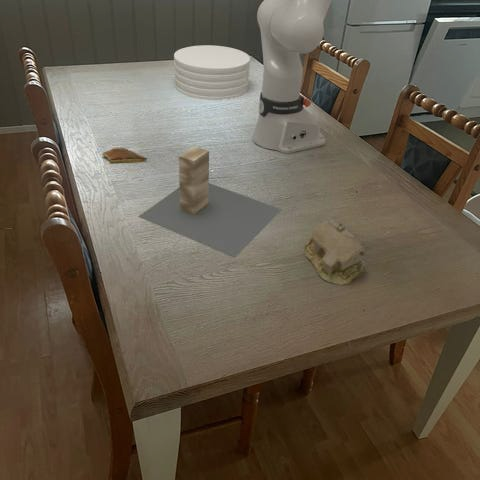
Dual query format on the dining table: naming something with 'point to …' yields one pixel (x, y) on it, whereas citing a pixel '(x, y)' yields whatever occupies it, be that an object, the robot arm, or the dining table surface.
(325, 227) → the ceramic model
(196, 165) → the birch block
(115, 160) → the shard
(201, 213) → the rubber mat
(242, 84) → the plate stack
